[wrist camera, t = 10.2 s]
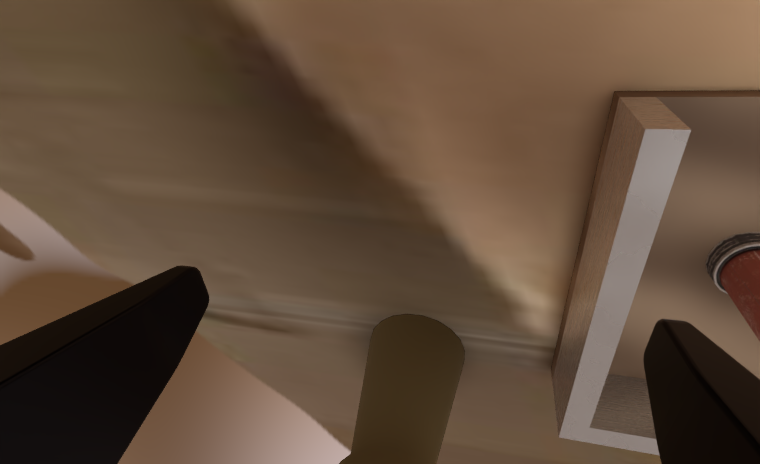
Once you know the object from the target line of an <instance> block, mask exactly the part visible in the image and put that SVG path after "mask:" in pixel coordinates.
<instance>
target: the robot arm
mask: <svg viewBox="0 0 760 464" xmlns="http://www.w3.org/2000/svg"><path fill="white" fill-rule="evenodd" d="M208 303H209V294H208V292H207V289H206V286H205V284H204V281H203V278H202V276H201V273H200V271H199V270H198V269H197V268H195V267H190V266H176V267H174V268H172V269H169V270H167V271H165V272H163V273H160V274H158V275H156V276H154V277H152V278H149V279H147V280H145V281H143V282H140V283H138V284H136V285H134V286H131V287H129V288H127V289H125V290H123V291H120V292H118V293H116V294H114V295H111V296H109V297H107V298H105V299H102V300H100V301H98V302H96V303H94V304H91V305H89V306H87V307H85V308H83V309H80V310H78V311H76V312H73V313H72V314H69V315H67V316H65V317H62V318H60V319H58V320H56V321H54V322H51V323H49V324H47V325H45V326H43V327H40V328H38V329H36V330H33V331H31V332H29V333H27V334H24V335H23V336H20V337H18V338H16V339H13V340H11V341H9V342H7V343H4V344H2V345H0V464H118V462H119V460H120V459H121V457H122V455H123V454H124V452H125V451H126V449H127V448H128V446H129V444H130V443H131V441H132V439H133V438H134V436H135V434H136V433H137V431H138V430H139V428H140V427H141V425H142V423H143V421H144V420H145V418H146V417H147V415H148V414H149V412H150V410H151V409H152V407H153V405H154V404H155V402H156V401H157V399H158V397H159V396H160V394H161V393H162V391H163V390H164V388H165V386H166V385H167V383H168V381H169V380H170V378H171V377H172V375H173V373H174V371H175V369H176V368H177V366H178V365H179V363H180V361H181V359H182V357H183V355H184V353H185V351H186V349H187V347H188V345H189V343H190V341H191V339H192V337H193V335H194V333H195V331H196V329H197V327H198V325H199V323H200V321H201V319H202V317H203V315H204V313H205V311H206V309H207V306H208ZM643 363H644V370H645V376H646V382H647V388H648V394H649V400H650V406H651V412H652V418H653V424H654V430H655V436H656V441H657V446H658V451H659V455H660V459H661V463H662V464H760V379H759V378H758V377H756V376H755V375H754V374H753V373H751V372H750V371H749V370H748V369H746V368H745V367H744V366H743V365H741V364H740V363H739V362H738V361H736V360H735V359H734V358H733V357H731V356H730V355H729V354H728V353H727V352H725V351H724V350H723V349H722V348H720V347H719V346H718V345H717V344H715V343H714V342H713V341H712V340H710V339H709V338H708V337H707V336H705V335H704V334H703V333H702V332H701V331H699V330H698V329H697V328H696V327H694V326H693V325H692V324H690V323H689V322H686V321H681V320H672V319H660V320H658V321H657V322H656V324H655V326H654V328H653V331H652V334H651V336H650V339H649V341H648V344H647V346H646V349H645V352H644V358H643Z"/></svg>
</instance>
